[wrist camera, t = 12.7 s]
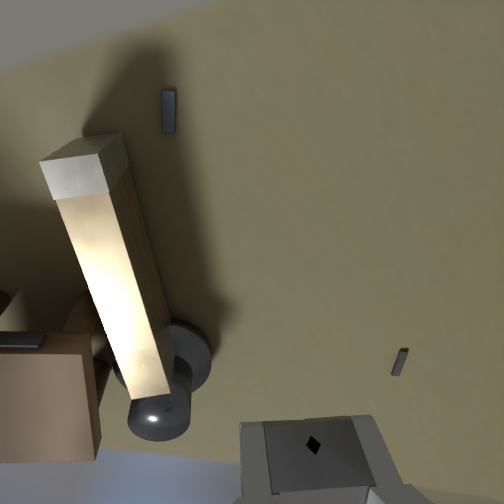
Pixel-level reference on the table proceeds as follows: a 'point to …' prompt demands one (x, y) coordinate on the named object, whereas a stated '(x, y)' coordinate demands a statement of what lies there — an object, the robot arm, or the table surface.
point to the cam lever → (127, 284)
